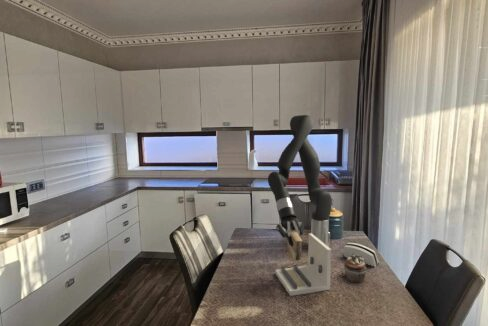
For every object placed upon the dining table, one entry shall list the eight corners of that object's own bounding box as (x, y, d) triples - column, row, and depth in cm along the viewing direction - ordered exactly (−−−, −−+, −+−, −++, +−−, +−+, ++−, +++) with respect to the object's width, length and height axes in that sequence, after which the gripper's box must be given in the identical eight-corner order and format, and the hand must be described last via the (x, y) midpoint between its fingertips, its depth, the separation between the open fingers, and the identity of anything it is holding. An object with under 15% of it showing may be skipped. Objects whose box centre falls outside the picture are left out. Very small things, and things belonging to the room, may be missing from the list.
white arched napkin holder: (380, 263, 146) (378, 248, 142) (376, 270, 143) (374, 254, 139) (348, 253, 158) (345, 238, 154) (344, 258, 155) (341, 243, 151)
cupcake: (340, 278, 133) (341, 257, 131) (347, 269, 141) (348, 249, 139) (362, 285, 127) (363, 263, 126) (368, 275, 135) (370, 255, 133)
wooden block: (293, 248, 135) (295, 230, 131) (300, 261, 127) (303, 241, 123) (286, 249, 134) (288, 230, 131) (294, 262, 126) (296, 242, 123)
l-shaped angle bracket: (310, 268, 142) (311, 233, 139) (330, 289, 125) (331, 249, 122) (275, 273, 138) (275, 237, 135) (290, 296, 120) (290, 254, 118)
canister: (345, 233, 184) (346, 206, 182) (341, 241, 173) (342, 212, 170) (324, 230, 190) (324, 203, 188) (319, 237, 179) (319, 209, 176)
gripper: (273, 207, 133) (283, 243, 123) (302, 204, 136) (313, 240, 126) (269, 214, 139) (278, 250, 129) (297, 212, 142) (308, 246, 132)
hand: (295, 245), depth 127 cm, fingers closed on wooden block, 3 cm apart
